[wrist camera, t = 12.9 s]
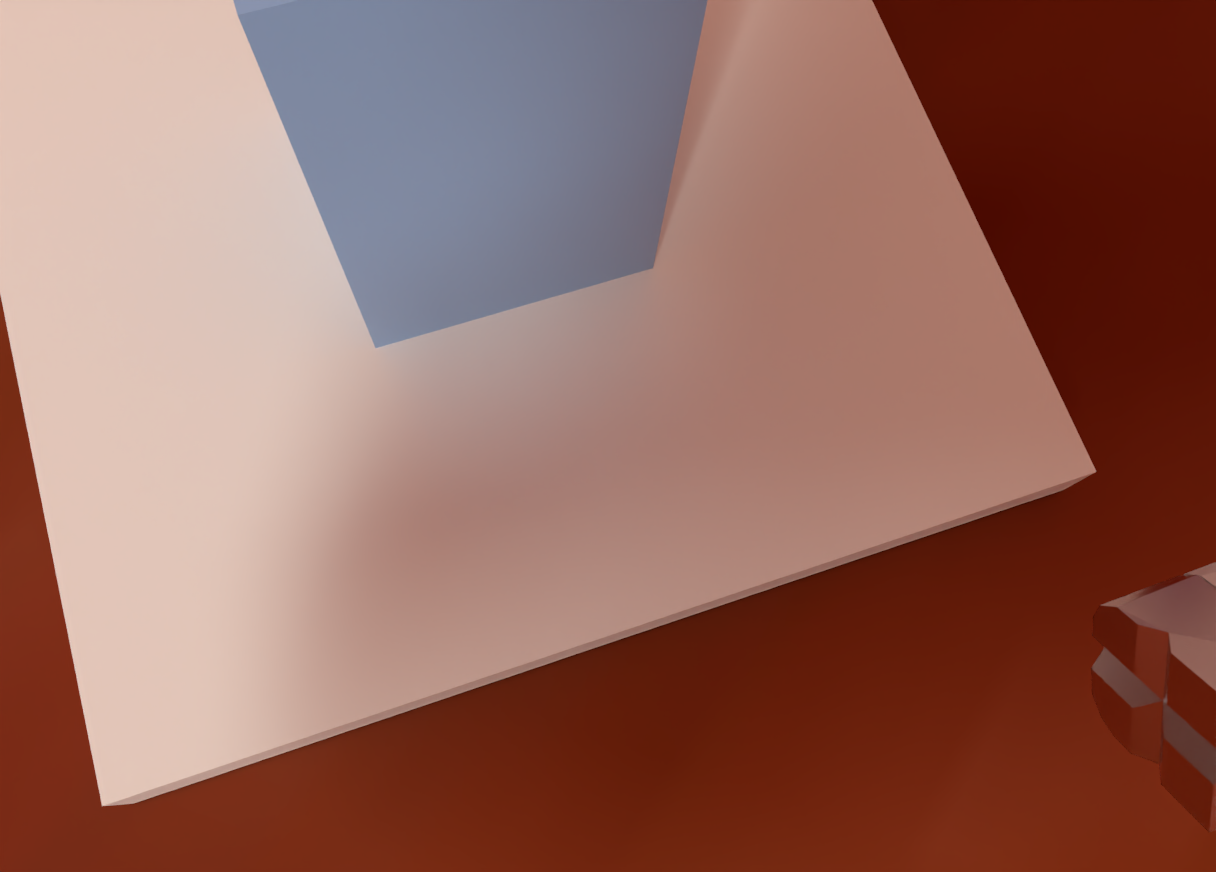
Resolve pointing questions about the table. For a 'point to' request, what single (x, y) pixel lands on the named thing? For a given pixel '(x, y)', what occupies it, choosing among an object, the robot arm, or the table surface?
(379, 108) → the blue domed block
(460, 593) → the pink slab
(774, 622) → the table surface
